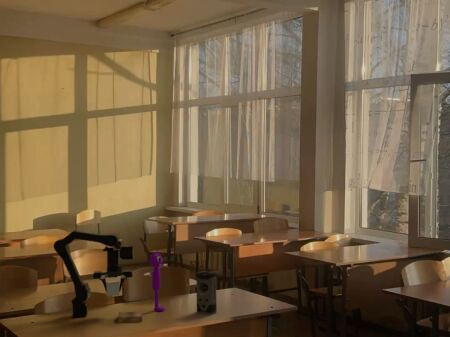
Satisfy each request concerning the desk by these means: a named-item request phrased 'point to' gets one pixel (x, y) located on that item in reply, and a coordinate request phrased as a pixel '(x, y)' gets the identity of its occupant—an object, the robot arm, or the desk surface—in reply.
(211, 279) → the electronic device
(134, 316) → the walnut block
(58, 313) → the desk surface
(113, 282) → the cube
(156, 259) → the toy
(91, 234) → the robot arm
